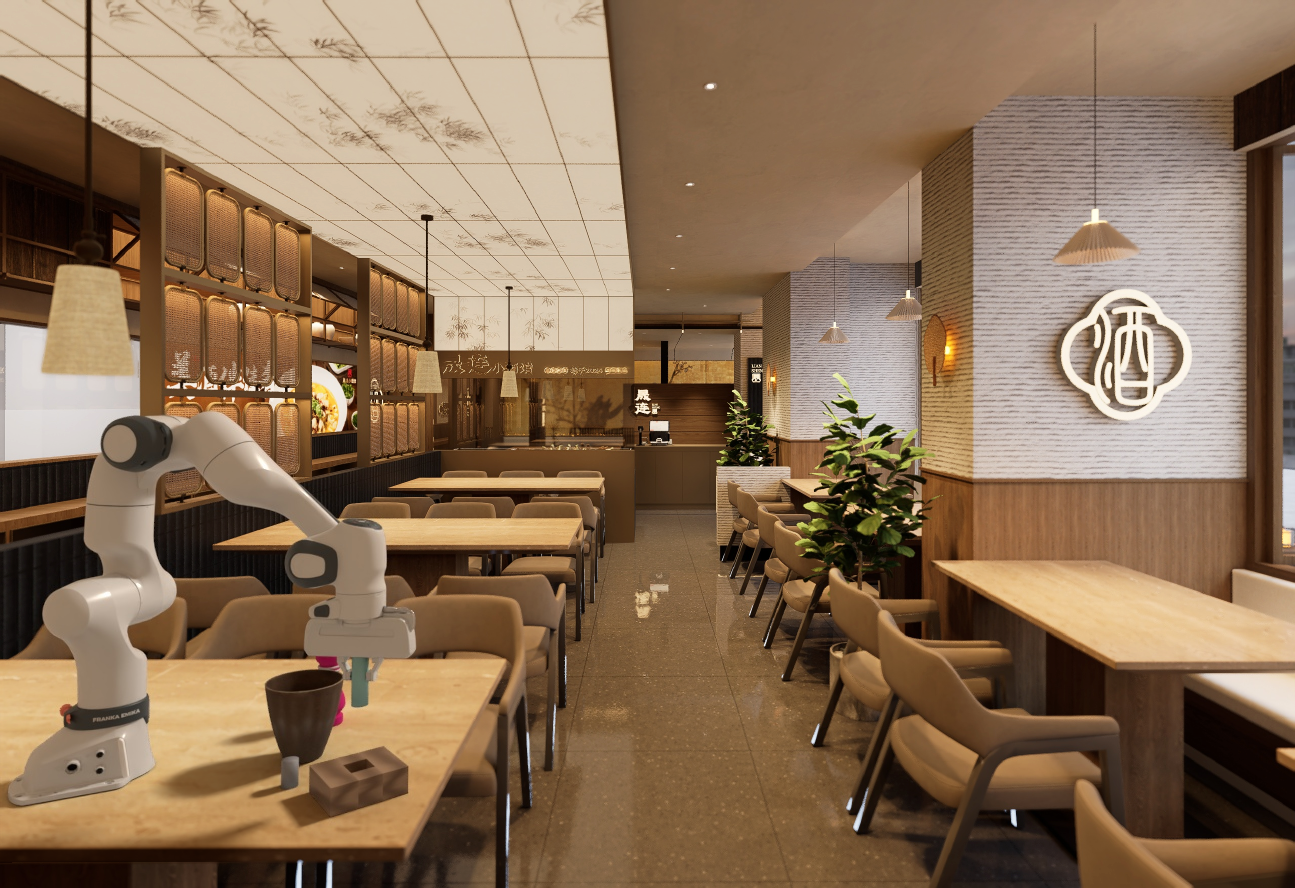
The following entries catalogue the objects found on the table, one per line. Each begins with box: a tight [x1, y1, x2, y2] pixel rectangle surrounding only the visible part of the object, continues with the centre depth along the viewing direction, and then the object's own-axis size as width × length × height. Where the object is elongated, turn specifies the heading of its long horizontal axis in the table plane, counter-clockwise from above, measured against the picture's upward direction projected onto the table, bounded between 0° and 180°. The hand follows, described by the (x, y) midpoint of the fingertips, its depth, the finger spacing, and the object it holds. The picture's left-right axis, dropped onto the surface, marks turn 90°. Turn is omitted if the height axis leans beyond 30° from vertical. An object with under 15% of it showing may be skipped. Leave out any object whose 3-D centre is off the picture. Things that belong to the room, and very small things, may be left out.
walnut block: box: [308, 745, 409, 818], centre depth 137 cm, size 14×12×5 cm
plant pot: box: [264, 668, 344, 765], centre depth 152 cm, size 15×15×16 cm
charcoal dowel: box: [280, 756, 300, 791], centre depth 139 cm, size 3×3×5 cm
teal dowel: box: [350, 657, 370, 709], centre depth 137 cm, size 3×3×10 cm
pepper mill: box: [315, 656, 346, 727], centre depth 171 cm, size 7×7×20 cm
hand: (360, 680), depth 137 cm, fingers closed on teal dowel, 3 cm apart
